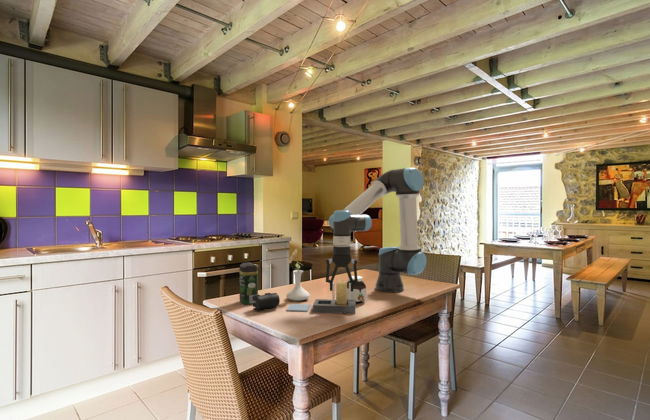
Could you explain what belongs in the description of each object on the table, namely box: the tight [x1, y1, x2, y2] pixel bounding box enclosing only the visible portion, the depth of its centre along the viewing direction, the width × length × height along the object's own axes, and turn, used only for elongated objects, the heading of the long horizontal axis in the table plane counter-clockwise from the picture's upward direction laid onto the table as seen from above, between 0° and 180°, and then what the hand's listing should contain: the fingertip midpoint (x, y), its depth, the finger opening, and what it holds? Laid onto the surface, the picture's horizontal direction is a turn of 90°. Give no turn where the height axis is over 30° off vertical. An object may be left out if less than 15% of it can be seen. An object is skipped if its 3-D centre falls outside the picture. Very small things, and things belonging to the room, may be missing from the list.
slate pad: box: [286, 303, 311, 313], centre depth 154 cm, size 9×9×1 cm
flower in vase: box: [285, 248, 311, 302], centre depth 168 cm, size 13×11×25 cm
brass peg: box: [335, 280, 348, 305], centre depth 152 cm, size 4×4×12 cm
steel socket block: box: [312, 298, 357, 315], centre depth 152 cm, size 18×10×3 cm, turn 84°
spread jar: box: [347, 275, 367, 305], centre depth 167 cm, size 12×11×12 cm
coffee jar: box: [239, 261, 259, 306], centre depth 163 cm, size 10×8×19 cm
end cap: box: [252, 292, 281, 313], centre depth 152 cm, size 10×7×7 cm
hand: (341, 298), depth 152 cm, fingers open, 6 cm apart
